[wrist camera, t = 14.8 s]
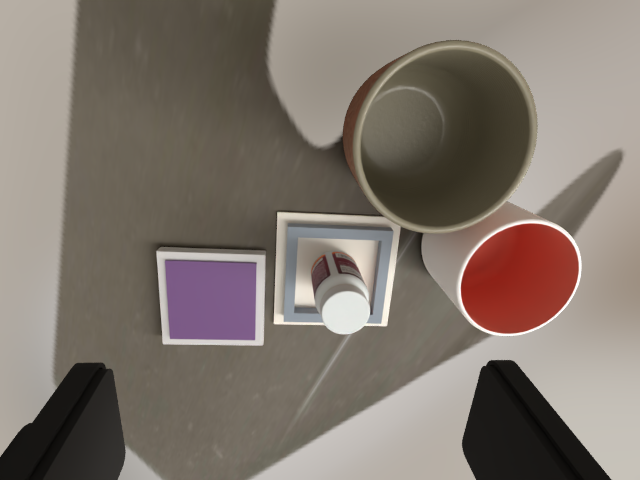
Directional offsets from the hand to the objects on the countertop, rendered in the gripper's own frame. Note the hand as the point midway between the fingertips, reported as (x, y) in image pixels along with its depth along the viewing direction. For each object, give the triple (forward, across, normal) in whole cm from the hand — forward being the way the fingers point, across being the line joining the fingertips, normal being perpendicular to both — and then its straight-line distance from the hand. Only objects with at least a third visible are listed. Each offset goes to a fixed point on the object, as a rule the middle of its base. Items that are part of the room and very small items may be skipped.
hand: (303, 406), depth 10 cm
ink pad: (+28, +7, +13) cm, 32 cm away
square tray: (+28, -5, +10) cm, 30 cm away
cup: (+28, -18, +6) cm, 34 cm away
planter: (+29, -10, -4) cm, 31 cm away
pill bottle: (+28, -5, +10) cm, 30 cm away
